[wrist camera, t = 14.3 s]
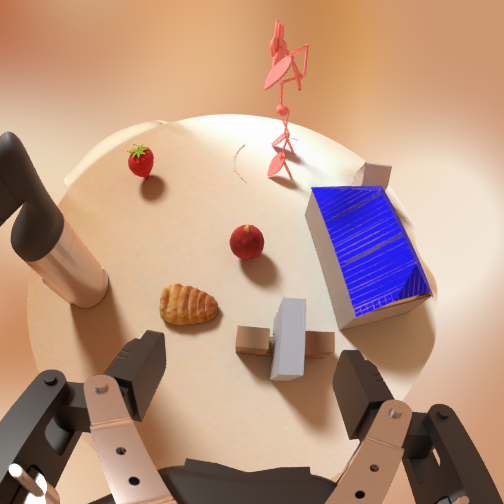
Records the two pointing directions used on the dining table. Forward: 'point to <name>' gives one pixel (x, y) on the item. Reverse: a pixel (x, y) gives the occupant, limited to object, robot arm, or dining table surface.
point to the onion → (247, 242)
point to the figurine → (277, 72)
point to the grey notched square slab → (289, 340)
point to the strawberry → (141, 161)
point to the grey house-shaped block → (372, 175)
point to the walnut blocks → (262, 344)
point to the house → (364, 255)
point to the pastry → (186, 305)
